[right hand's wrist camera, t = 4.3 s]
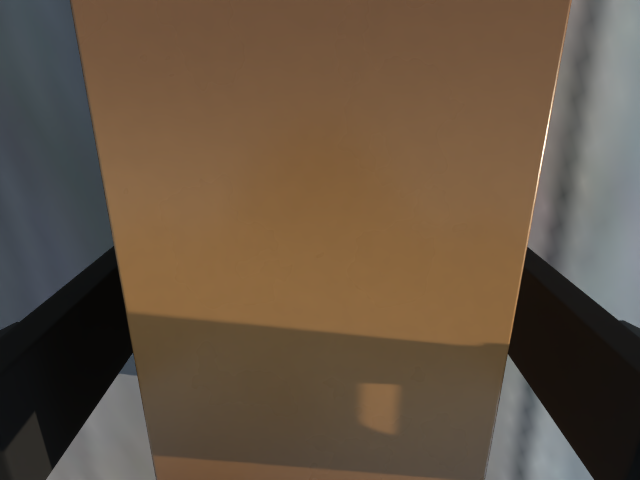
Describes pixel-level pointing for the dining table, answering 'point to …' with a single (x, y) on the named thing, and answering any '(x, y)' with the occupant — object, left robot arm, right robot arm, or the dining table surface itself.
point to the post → (320, 223)
